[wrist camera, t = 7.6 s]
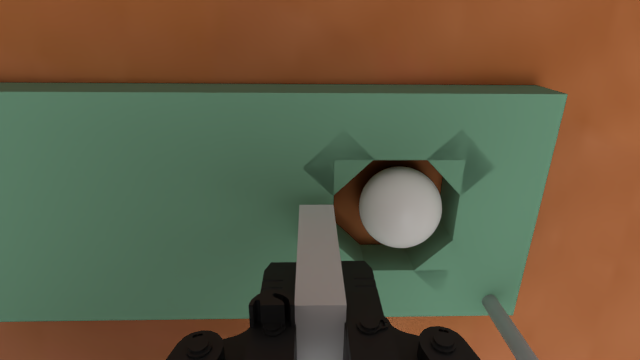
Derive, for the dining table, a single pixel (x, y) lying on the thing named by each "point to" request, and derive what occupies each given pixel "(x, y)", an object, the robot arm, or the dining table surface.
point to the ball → (400, 207)
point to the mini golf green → (258, 193)
